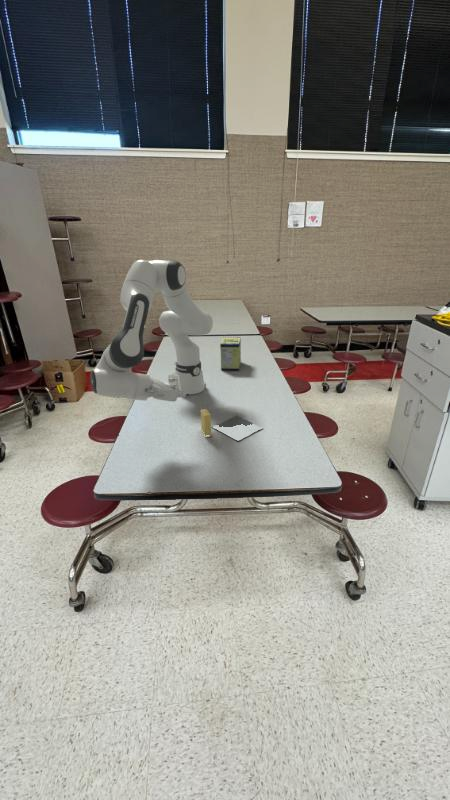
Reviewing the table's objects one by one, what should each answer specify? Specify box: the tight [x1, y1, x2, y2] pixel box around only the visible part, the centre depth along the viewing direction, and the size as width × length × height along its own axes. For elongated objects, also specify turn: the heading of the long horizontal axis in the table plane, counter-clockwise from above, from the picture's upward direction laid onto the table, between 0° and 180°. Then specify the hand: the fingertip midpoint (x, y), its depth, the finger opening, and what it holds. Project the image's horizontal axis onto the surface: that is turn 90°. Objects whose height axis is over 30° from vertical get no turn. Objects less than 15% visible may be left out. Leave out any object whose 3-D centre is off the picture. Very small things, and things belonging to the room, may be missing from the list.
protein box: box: [219, 336, 242, 372], centre depth 205 cm, size 10×16×16 cm
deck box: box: [200, 408, 212, 437], centre depth 138 cm, size 2×5×10 cm, turn 18°
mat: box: [216, 414, 254, 427], centre depth 143 cm, size 15×14×1 cm
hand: (179, 391), depth 126 cm, fingers open, 8 cm apart
